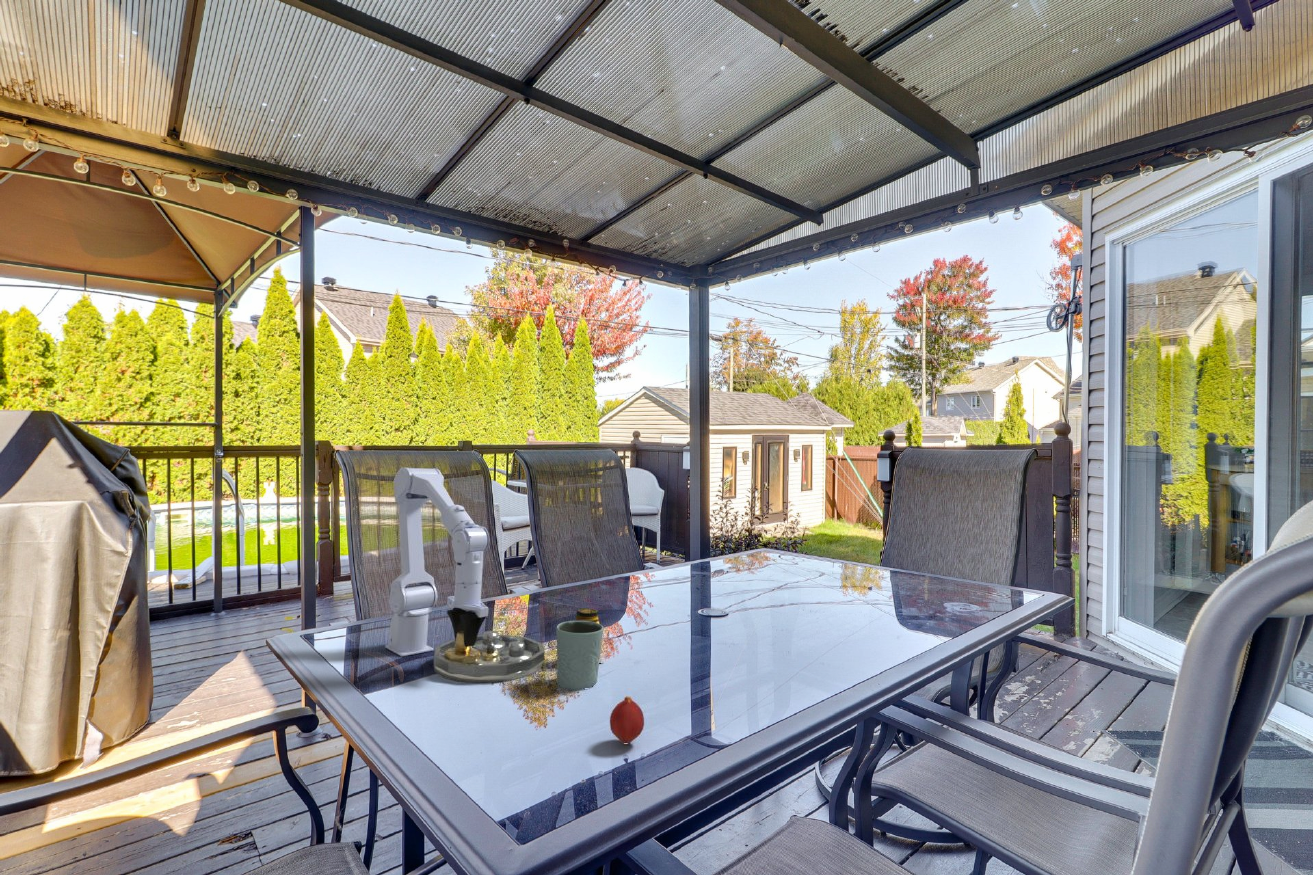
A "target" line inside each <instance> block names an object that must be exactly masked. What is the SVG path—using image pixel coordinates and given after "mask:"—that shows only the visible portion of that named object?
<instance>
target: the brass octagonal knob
mask: <svg viewBox="0 0 1313 875" xmlns="http://www.w3.org/2000/svg"><path fill="white" fill-rule="evenodd" d="M444 658H446V659H448V660H450V661H452V662H459V663H471V662H476V661H477V660H479V659H480V651H478V650H476V649H473V648H471V646H469V647H465V645H464V632H463V631H462V632H457V637H456V646H455V648H450V649H448V650H447V651H445V655H444Z"/></svg>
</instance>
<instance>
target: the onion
mask: <svg viewBox="0 0 1313 875" xmlns="http://www.w3.org/2000/svg"><path fill="white" fill-rule="evenodd" d="M609 726H610V731H611V733H612V734H613V735H614V736H615V738H617V739H618V740H619V741H620V742H621V743H622V742H623V743H629V744H630V743H632V742H633V741H634V740H635V739H637V738H638V737H639V736H640V735H641V733H642V732H643V730H644V726H645V716H644V712H643V710H642V708H641V707H640V706H639V704H637V702H635V701H634V700H633V699H632V697H631V696H630V695H627V696H625V697H624V698H623V700H622V701H620V702H619V703H617V704H616V706H615V707H614V708H613V709H612V711H611V713H610V717H609ZM623 743H622V744H623Z"/></svg>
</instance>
